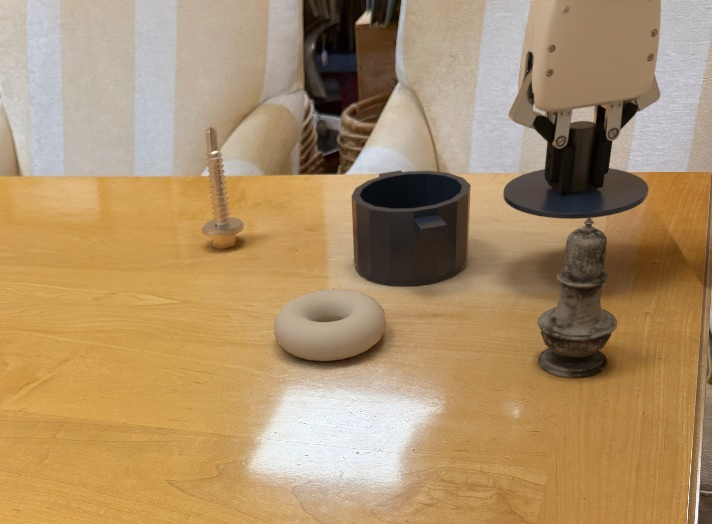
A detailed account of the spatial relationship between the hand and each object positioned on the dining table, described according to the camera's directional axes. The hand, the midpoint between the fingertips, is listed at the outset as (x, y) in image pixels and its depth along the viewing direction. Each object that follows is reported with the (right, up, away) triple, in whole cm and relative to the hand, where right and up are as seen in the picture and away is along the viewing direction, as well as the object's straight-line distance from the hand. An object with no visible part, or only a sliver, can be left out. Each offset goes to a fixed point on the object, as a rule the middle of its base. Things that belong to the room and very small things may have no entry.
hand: (574, 184), depth 82 cm
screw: (-31, +1, +22) cm, 38 cm away
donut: (-22, -14, +1) cm, 26 cm away
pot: (-12, -4, +12) cm, 17 cm away
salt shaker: (-3, -17, -8) cm, 19 cm away
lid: (0, -1, +1) cm, 1 cm away
